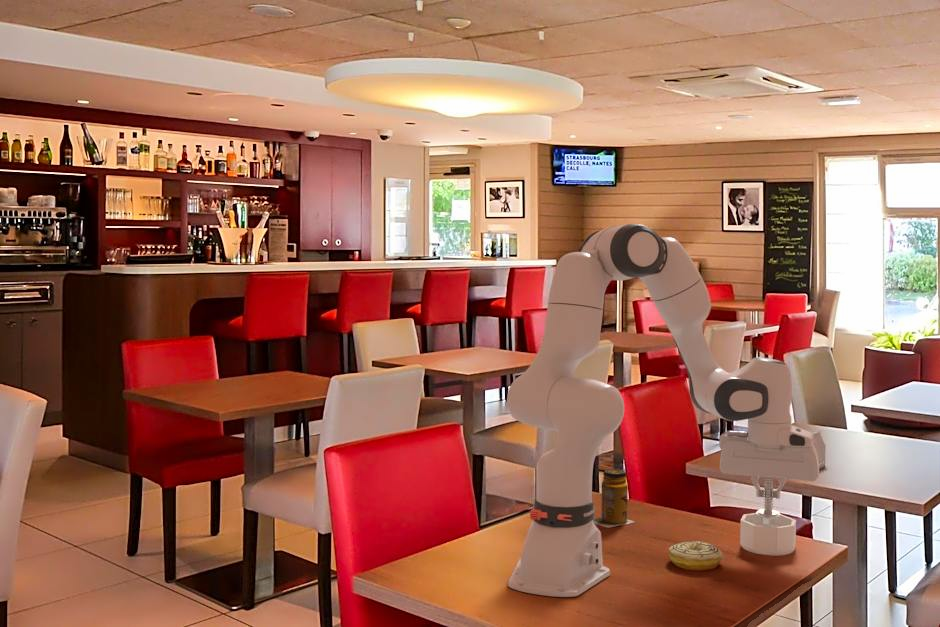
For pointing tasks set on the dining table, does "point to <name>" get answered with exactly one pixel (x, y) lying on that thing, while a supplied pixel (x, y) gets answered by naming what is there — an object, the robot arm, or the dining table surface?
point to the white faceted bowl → (768, 535)
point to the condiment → (614, 499)
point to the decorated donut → (695, 555)
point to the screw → (768, 504)
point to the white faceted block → (819, 447)
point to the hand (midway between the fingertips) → (768, 497)
